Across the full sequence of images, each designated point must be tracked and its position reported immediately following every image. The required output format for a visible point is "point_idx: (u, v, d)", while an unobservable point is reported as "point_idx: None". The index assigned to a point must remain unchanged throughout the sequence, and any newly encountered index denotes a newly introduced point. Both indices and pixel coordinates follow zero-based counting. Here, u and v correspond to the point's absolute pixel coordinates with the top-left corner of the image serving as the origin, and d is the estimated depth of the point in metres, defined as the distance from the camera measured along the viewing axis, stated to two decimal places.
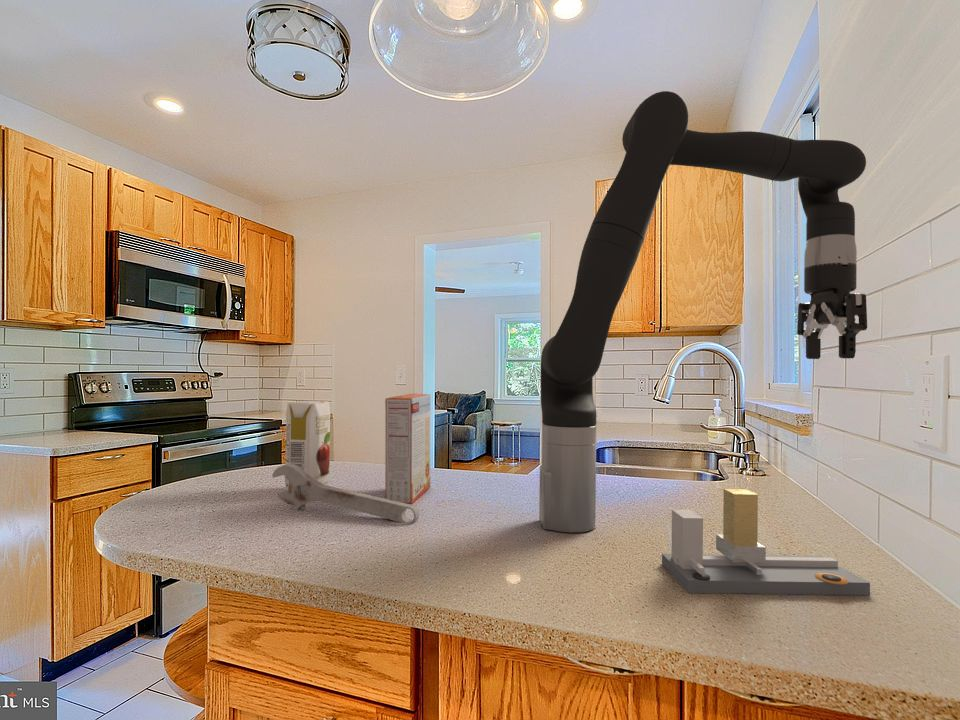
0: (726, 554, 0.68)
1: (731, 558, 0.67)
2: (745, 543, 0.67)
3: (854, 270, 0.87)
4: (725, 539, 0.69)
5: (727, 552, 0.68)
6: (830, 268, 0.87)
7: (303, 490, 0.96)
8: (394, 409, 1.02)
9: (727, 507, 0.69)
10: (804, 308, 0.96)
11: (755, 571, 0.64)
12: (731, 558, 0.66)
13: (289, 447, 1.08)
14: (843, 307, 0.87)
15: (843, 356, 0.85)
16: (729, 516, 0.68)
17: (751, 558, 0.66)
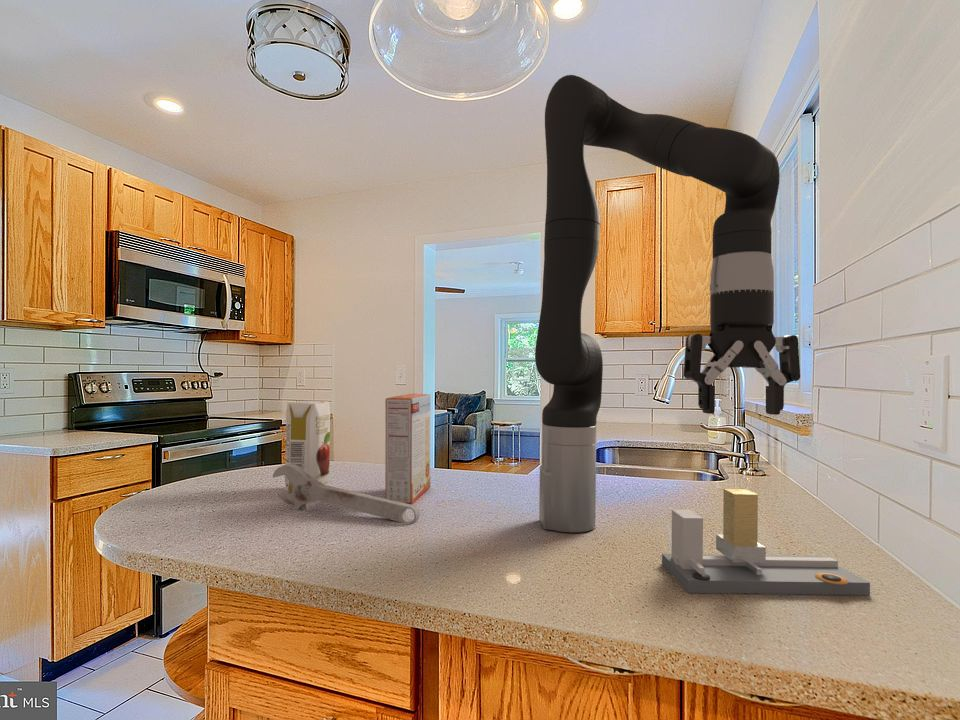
0: (726, 554, 0.68)
1: (731, 558, 0.67)
2: (745, 543, 0.67)
3: None
4: (725, 539, 0.69)
5: (727, 552, 0.68)
6: (773, 298, 0.67)
7: (303, 490, 0.96)
8: (394, 409, 1.02)
9: (727, 507, 0.69)
10: None
11: (755, 571, 0.64)
12: (731, 558, 0.66)
13: (289, 447, 1.07)
14: None
15: None
16: (729, 516, 0.68)
17: (751, 558, 0.66)
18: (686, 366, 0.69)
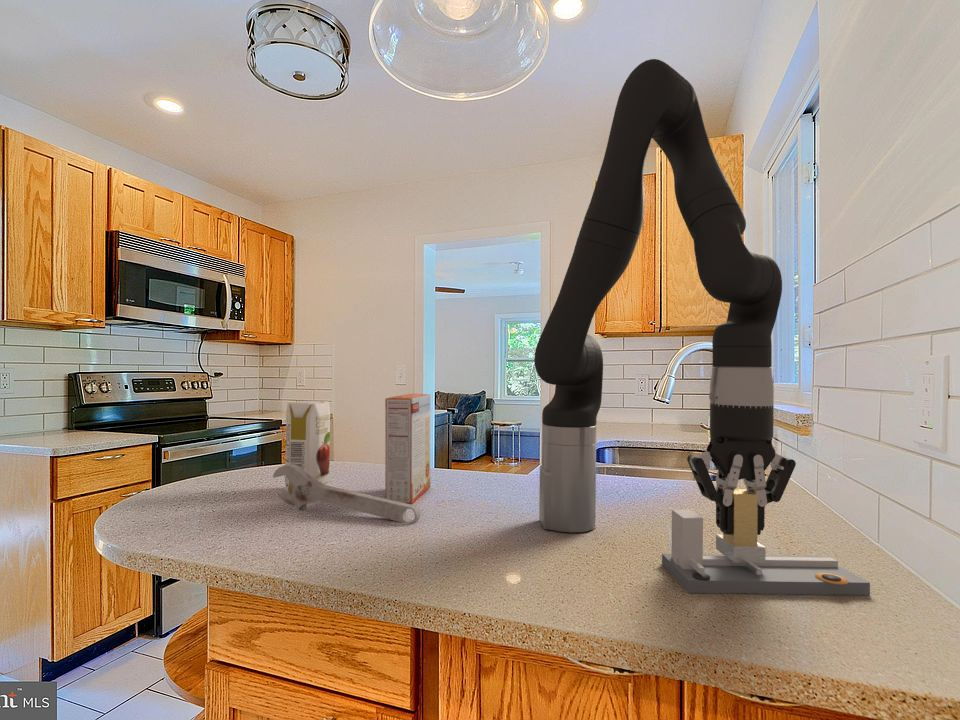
0: (726, 554, 0.68)
1: (731, 558, 0.67)
2: (745, 543, 0.67)
3: None
4: (725, 539, 0.69)
5: (727, 552, 0.68)
6: (773, 412, 0.67)
7: (304, 490, 0.96)
8: (394, 409, 1.02)
9: None
10: None
11: (755, 571, 0.64)
12: (731, 558, 0.66)
13: (289, 447, 1.08)
14: None
15: None
16: None
17: (751, 558, 0.66)
18: (700, 486, 0.69)
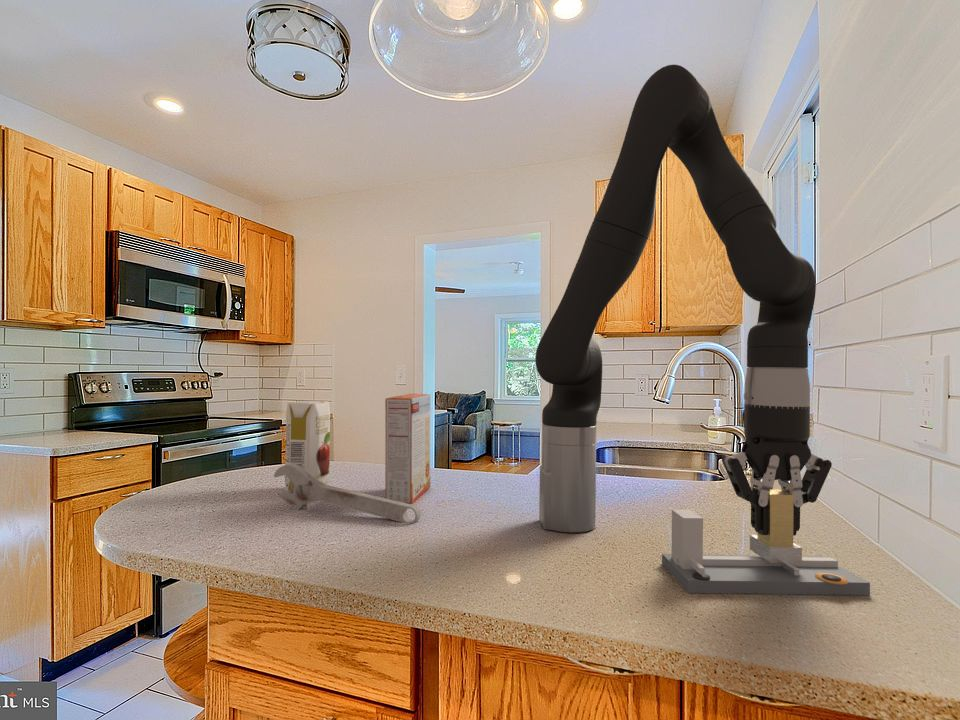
0: (761, 554, 0.68)
1: (767, 558, 0.67)
2: (781, 543, 0.67)
3: None
4: (760, 539, 0.69)
5: (762, 552, 0.68)
6: (809, 413, 0.67)
7: (305, 490, 0.96)
8: (394, 409, 1.02)
9: None
10: None
11: (792, 571, 0.64)
12: (767, 558, 0.66)
13: (289, 447, 1.08)
14: None
15: None
16: None
17: (787, 558, 0.66)
18: (735, 487, 0.69)
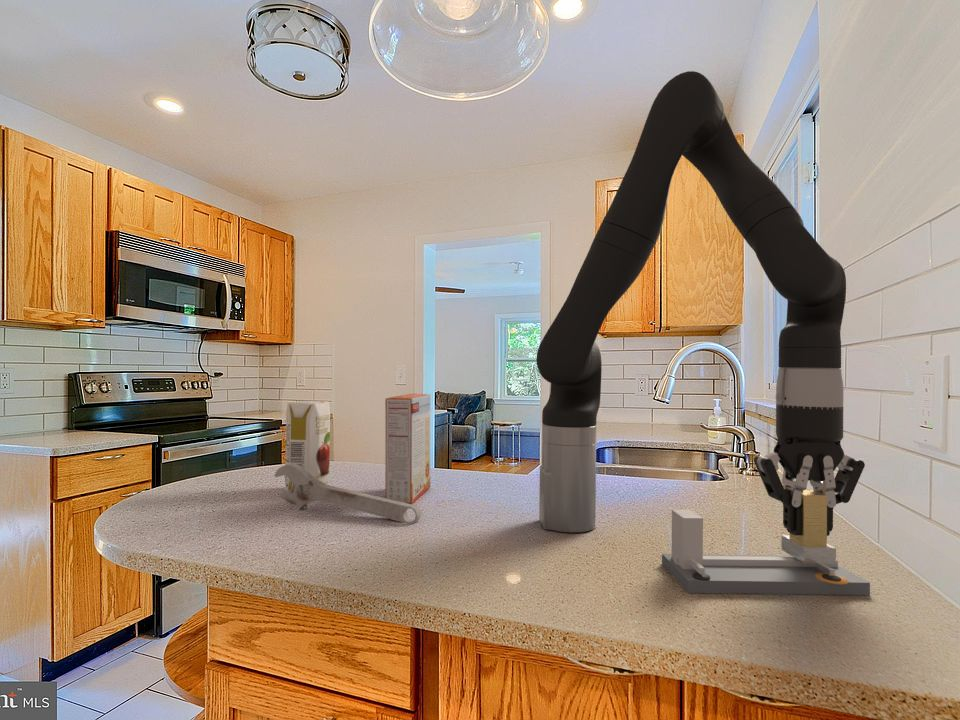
0: (794, 555, 0.68)
1: (801, 559, 0.67)
2: (814, 544, 0.67)
3: None
4: (793, 540, 0.69)
5: (795, 553, 0.68)
6: None
7: (305, 490, 0.96)
8: (394, 409, 1.02)
9: None
10: None
11: (828, 572, 0.64)
12: (801, 559, 0.66)
13: (289, 447, 1.08)
14: None
15: None
16: None
17: (821, 559, 0.66)
18: (767, 487, 0.69)
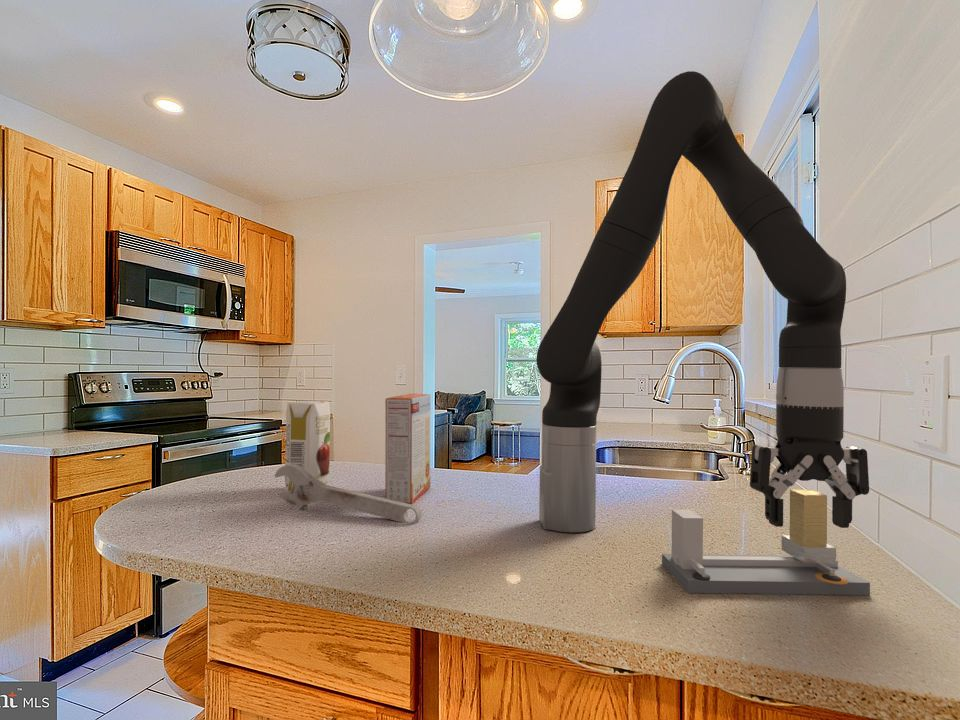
0: (794, 555, 0.68)
1: (801, 559, 0.67)
2: (814, 544, 0.67)
3: None
4: (793, 540, 0.69)
5: (796, 553, 0.68)
6: (843, 413, 0.67)
7: (305, 490, 0.96)
8: (394, 409, 1.02)
9: (794, 508, 0.69)
10: None
11: (828, 572, 0.64)
12: (801, 559, 0.66)
13: (289, 447, 1.08)
14: None
15: None
16: (797, 517, 0.68)
17: (821, 559, 0.66)
18: (753, 476, 0.69)
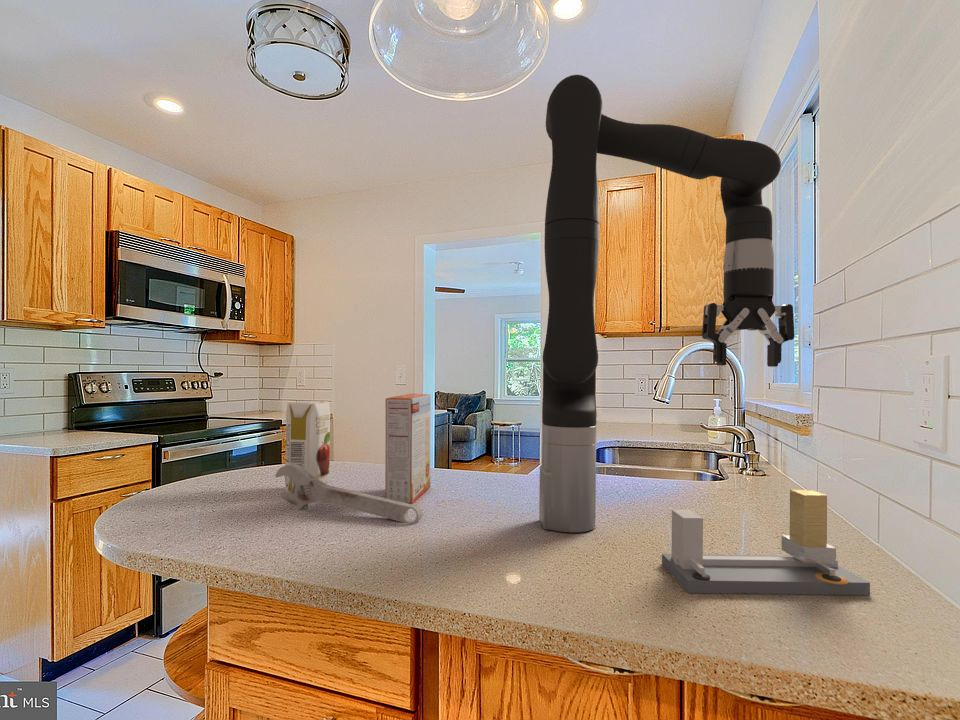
0: (794, 555, 0.68)
1: (801, 559, 0.67)
2: (814, 544, 0.67)
3: None
4: (793, 540, 0.69)
5: (796, 553, 0.68)
6: (773, 275, 0.86)
7: (306, 490, 0.96)
8: (394, 409, 1.02)
9: (794, 508, 0.69)
10: None
11: (828, 572, 0.64)
12: (801, 559, 0.66)
13: (289, 447, 1.08)
14: None
15: None
16: (797, 517, 0.68)
17: (821, 559, 0.66)
18: (704, 329, 0.89)
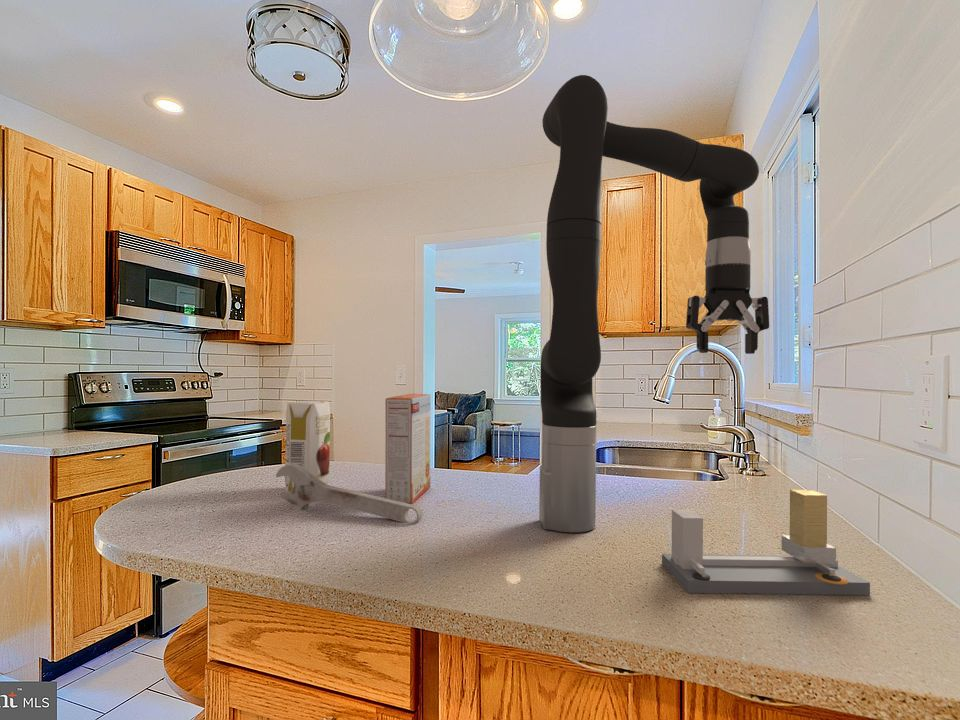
0: (794, 555, 0.68)
1: (801, 559, 0.67)
2: (814, 544, 0.67)
3: None
4: (793, 540, 0.69)
5: (796, 553, 0.68)
6: None
7: (306, 490, 0.96)
8: (394, 409, 1.02)
9: (794, 508, 0.69)
10: None
11: (828, 572, 0.64)
12: (801, 559, 0.66)
13: (289, 447, 1.08)
14: None
15: None
16: (797, 517, 0.68)
17: (821, 559, 0.66)
18: (688, 319, 0.97)
